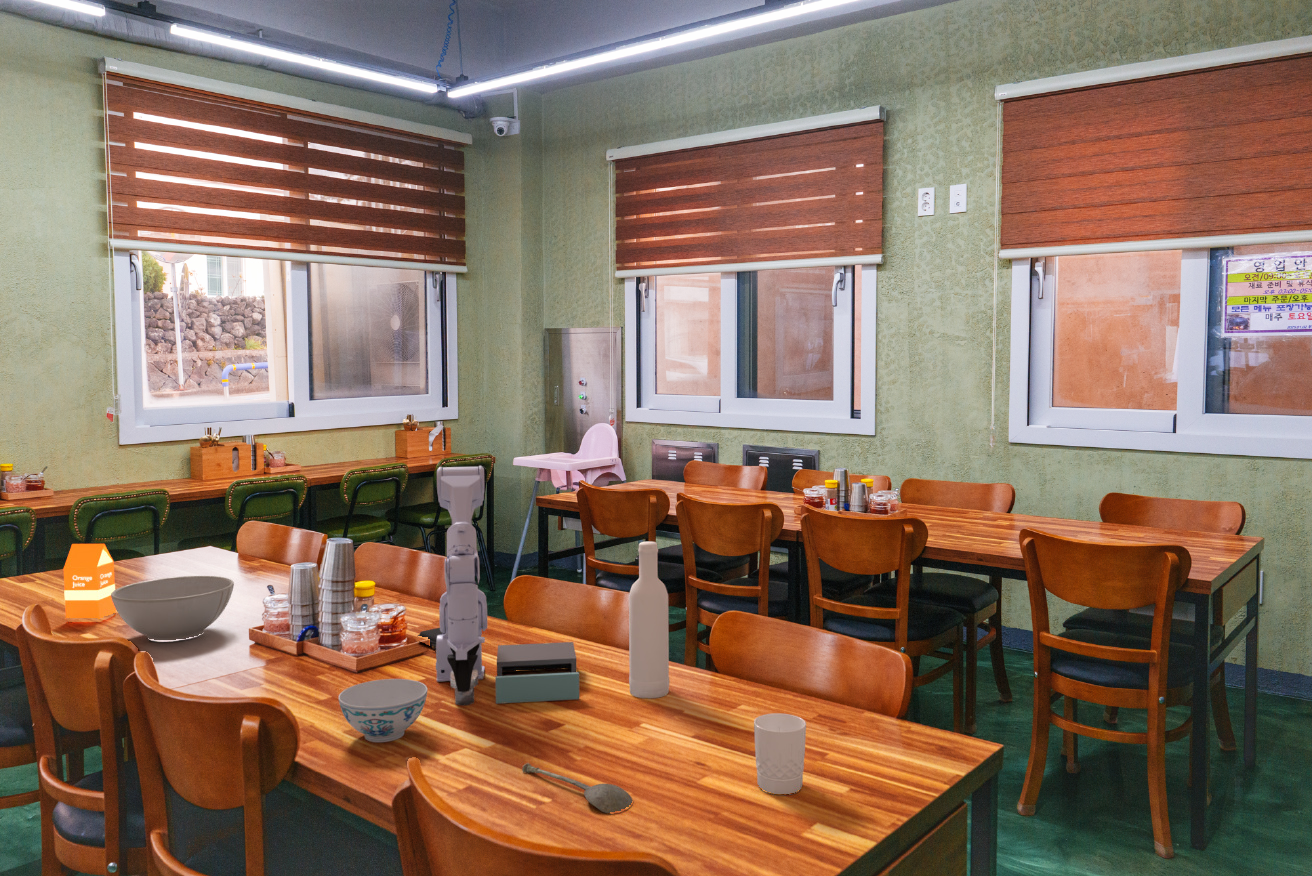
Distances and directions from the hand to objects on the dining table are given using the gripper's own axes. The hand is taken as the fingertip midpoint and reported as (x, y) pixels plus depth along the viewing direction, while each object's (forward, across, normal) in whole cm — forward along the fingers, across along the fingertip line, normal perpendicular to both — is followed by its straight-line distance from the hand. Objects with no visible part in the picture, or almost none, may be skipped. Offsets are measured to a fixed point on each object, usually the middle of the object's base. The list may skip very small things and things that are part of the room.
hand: (464, 686), depth 184 cm
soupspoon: (+4, -42, -19) cm, 46 cm away
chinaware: (+3, -15, +13) cm, 20 cm away
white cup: (+3, -46, -50) cm, 68 cm away
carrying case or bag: (+4, +41, +7) cm, 42 cm away
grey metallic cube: (+3, 0, 0) cm, 3 cm away
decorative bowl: (+3, +60, +73) cm, 95 cm away
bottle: (+3, 0, -36) cm, 36 cm away
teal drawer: (+3, +4, -14) cm, 15 cm away
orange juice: (+3, +81, +101) cm, 130 cm away
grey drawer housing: (+3, +13, -14) cm, 19 cm away
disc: (0, 0, 0) cm, 0 cm away
